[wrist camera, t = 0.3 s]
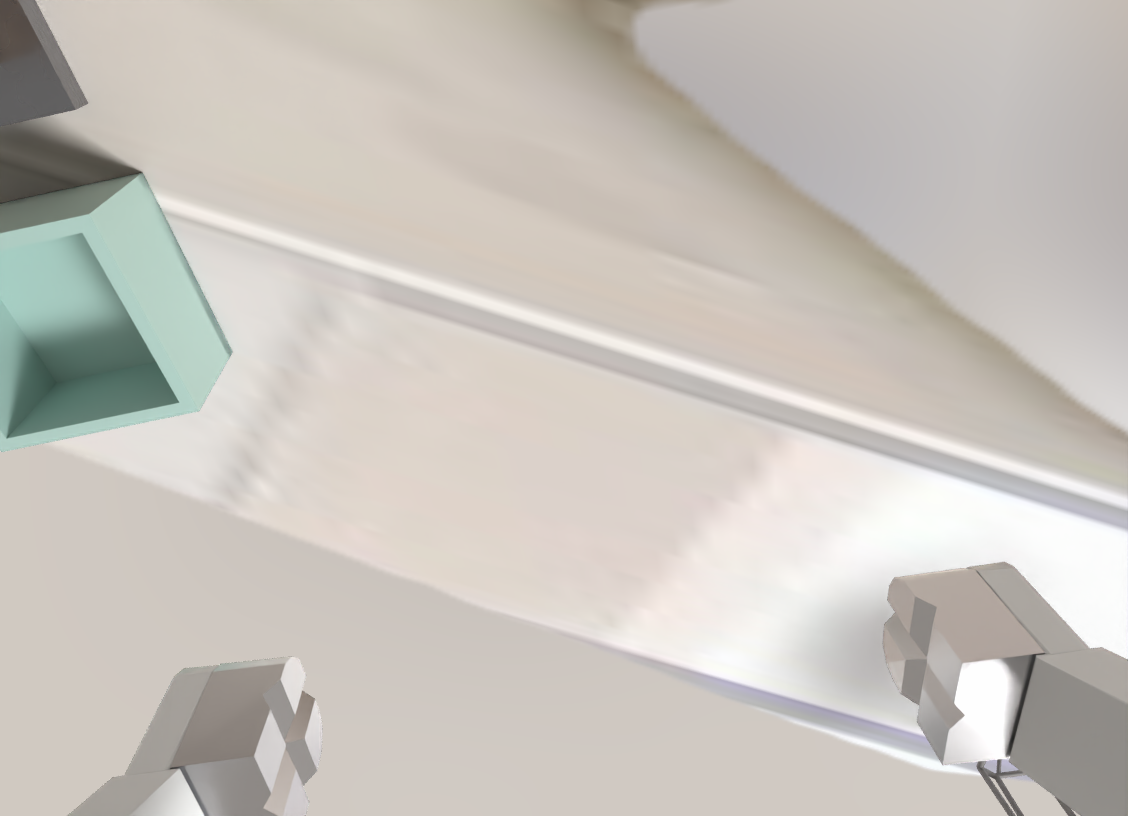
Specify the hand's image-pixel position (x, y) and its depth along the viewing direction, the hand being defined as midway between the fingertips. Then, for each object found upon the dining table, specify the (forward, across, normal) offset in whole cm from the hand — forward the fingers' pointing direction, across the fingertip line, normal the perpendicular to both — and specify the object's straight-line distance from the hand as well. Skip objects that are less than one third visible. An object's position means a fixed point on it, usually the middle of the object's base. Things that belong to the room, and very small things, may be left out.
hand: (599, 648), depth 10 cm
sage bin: (+39, +27, +4) cm, 48 cm away
